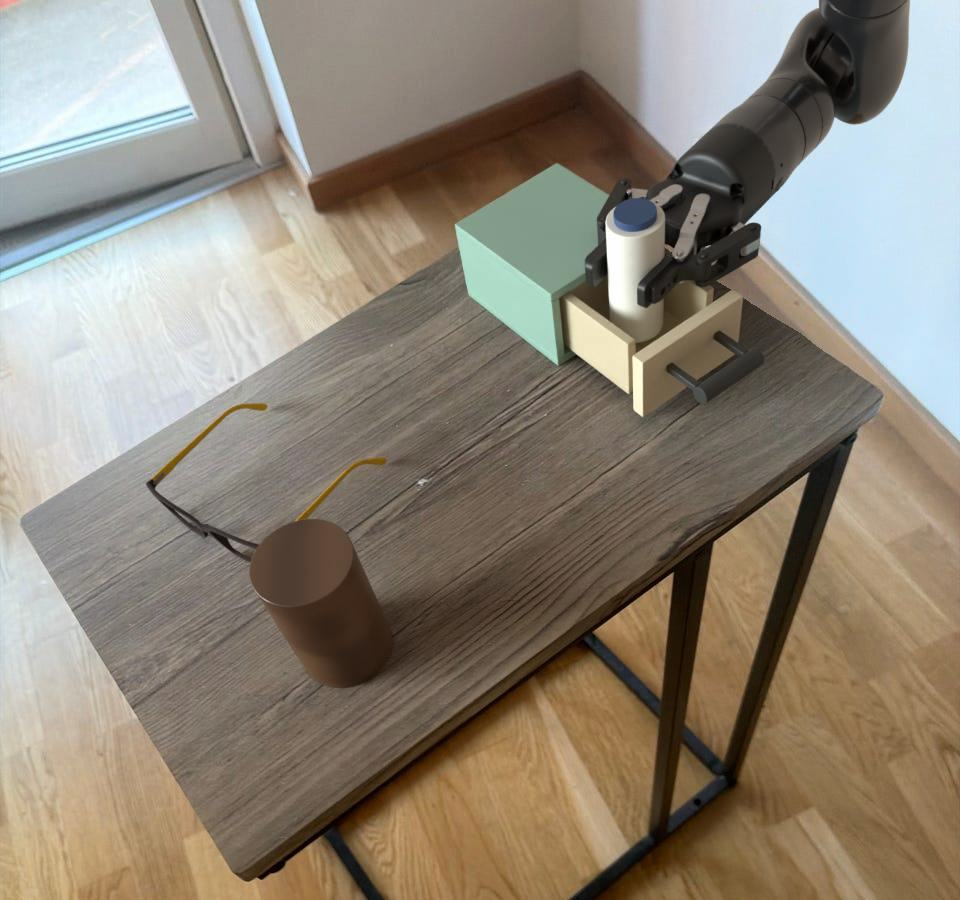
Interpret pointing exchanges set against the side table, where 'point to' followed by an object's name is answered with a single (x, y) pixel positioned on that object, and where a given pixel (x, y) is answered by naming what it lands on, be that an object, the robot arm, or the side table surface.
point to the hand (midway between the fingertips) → (615, 286)
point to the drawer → (661, 343)
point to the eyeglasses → (213, 531)
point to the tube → (634, 264)
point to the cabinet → (532, 253)
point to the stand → (322, 602)
